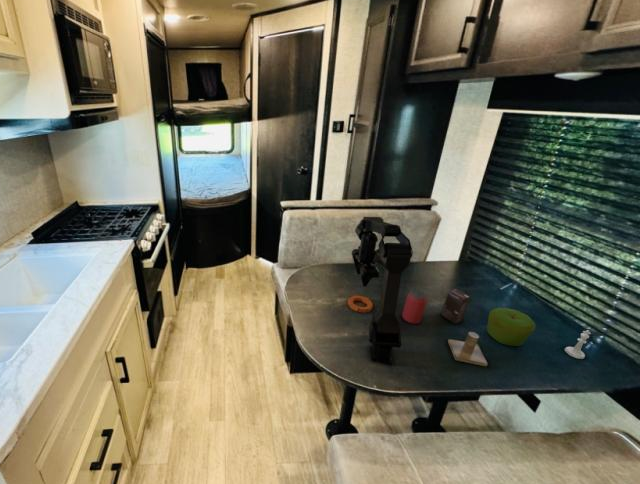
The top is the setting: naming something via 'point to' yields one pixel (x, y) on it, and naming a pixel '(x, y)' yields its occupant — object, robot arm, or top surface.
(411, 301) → the beer can
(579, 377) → the top surface
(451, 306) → the box
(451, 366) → the top surface
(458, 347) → the square plate with peg
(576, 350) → the chess piece
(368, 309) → the ring
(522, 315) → the apple
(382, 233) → the robot arm
